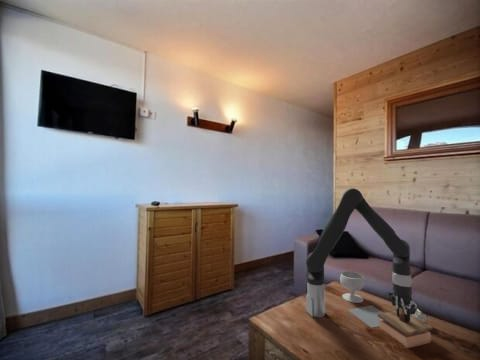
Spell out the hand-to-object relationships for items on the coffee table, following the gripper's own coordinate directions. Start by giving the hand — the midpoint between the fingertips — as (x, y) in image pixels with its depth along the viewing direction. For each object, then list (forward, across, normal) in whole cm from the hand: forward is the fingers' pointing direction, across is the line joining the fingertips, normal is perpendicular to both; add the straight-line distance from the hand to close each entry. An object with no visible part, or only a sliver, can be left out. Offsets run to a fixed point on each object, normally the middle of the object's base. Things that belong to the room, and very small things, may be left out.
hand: (403, 318), depth 107 cm
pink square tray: (+8, 0, 0) cm, 8 cm away
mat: (+8, -17, -2) cm, 19 cm away
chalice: (+8, -36, +2) cm, 37 cm away
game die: (+8, -4, +14) cm, 17 cm away
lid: (+2, 0, 0) cm, 2 cm away
